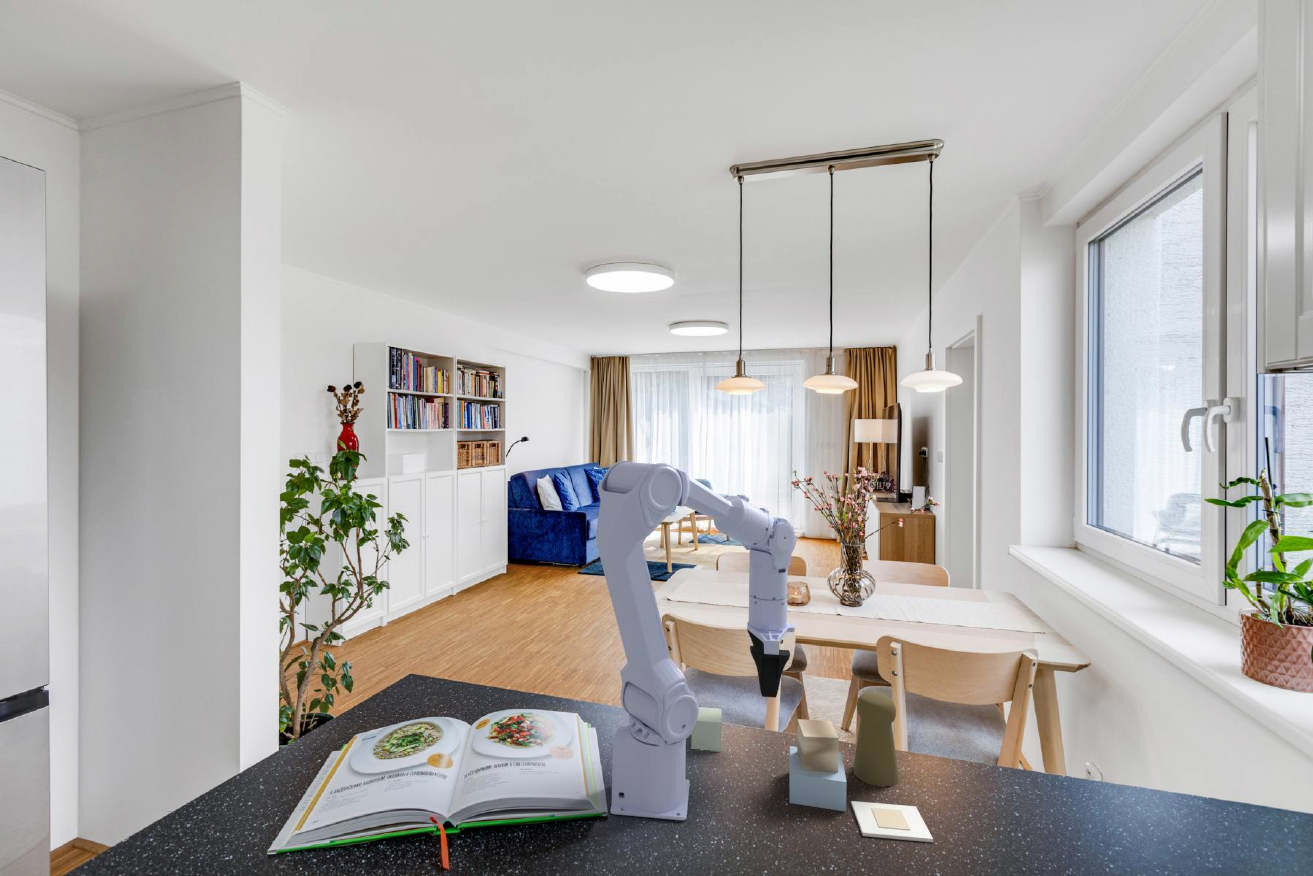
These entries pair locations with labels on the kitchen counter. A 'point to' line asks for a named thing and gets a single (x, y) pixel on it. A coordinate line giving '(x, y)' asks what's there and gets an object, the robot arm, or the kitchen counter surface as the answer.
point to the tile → (891, 821)
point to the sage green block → (707, 730)
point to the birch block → (817, 745)
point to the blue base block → (817, 785)
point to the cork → (876, 741)
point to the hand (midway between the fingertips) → (766, 685)
